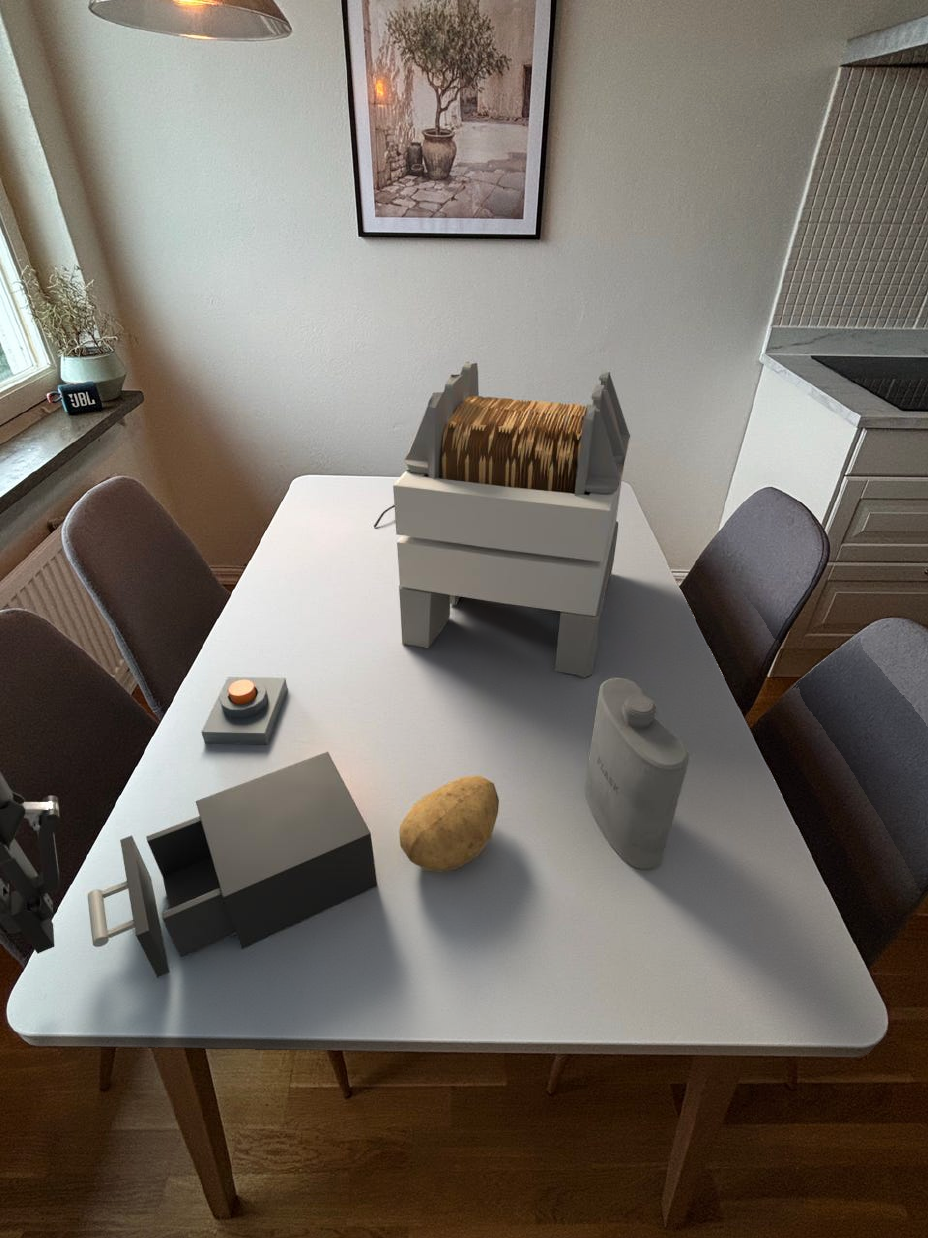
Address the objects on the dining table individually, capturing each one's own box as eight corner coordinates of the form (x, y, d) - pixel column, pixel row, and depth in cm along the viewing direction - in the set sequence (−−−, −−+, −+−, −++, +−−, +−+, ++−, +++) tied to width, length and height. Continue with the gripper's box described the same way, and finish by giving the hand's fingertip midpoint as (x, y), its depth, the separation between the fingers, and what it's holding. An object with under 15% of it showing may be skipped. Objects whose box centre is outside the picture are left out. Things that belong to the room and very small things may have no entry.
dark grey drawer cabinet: (241, 950, 72) (223, 897, 67) (213, 853, 82) (195, 801, 76) (377, 886, 78) (370, 833, 73) (336, 803, 88) (327, 751, 83)
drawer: (111, 999, 67) (86, 957, 63) (99, 899, 76) (76, 856, 72) (296, 913, 75) (285, 871, 70) (265, 831, 84) (254, 788, 79)
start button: (252, 705, 98) (249, 696, 97) (227, 704, 98) (225, 695, 97) (259, 688, 101) (257, 679, 100) (235, 688, 101) (232, 679, 100)
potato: (520, 832, 84) (523, 788, 80) (440, 909, 76) (439, 865, 71) (462, 790, 90) (462, 747, 85) (382, 857, 82) (377, 814, 77)
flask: (573, 782, 91) (588, 665, 79) (612, 772, 92) (633, 656, 81) (625, 877, 79) (652, 757, 68) (670, 864, 81) (703, 745, 69)
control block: (267, 744, 97) (262, 724, 94) (204, 743, 97) (198, 722, 95) (287, 688, 107) (283, 668, 104) (230, 687, 107) (225, 667, 104)
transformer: (454, 550, 142) (451, 346, 118) (612, 572, 135) (643, 359, 111) (397, 646, 115) (380, 407, 92) (591, 679, 108) (626, 429, 84)
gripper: (27, 719, 59) (112, 880, 73) (-158, 776, 54) (-30, 937, 68) (29, 777, 53) (120, 939, 67) (-176, 847, 48) (-33, 1006, 62)
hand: (45, 938), depth 67 cm, fingers closed
